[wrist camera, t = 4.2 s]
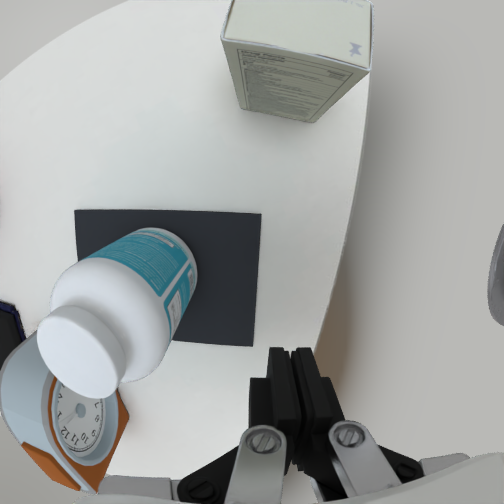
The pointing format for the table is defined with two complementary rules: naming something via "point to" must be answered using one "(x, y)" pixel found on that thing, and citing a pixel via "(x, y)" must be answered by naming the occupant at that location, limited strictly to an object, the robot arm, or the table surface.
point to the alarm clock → (59, 420)
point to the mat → (207, 261)
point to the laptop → (9, 331)
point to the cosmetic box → (297, 53)
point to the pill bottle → (117, 312)
